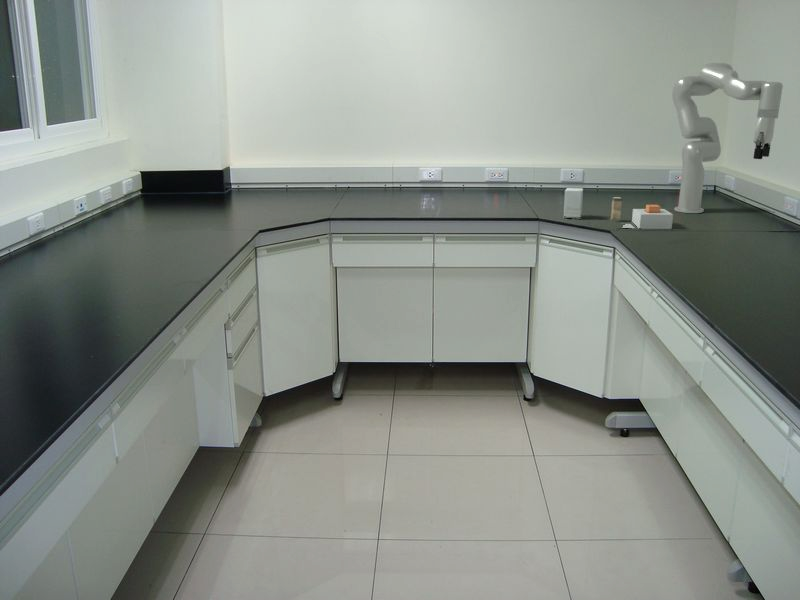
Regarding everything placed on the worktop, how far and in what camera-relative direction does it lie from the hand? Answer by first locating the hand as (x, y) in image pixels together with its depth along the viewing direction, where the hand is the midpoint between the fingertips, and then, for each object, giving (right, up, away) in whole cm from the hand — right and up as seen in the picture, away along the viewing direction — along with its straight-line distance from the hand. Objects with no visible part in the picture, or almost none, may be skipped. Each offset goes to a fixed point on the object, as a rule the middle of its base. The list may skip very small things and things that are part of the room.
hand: (761, 157), depth 297 cm
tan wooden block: (-53, -24, +19) cm, 62 cm away
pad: (-54, -28, +7) cm, 61 cm away
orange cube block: (-41, -23, +8) cm, 48 cm away
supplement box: (-70, -22, +26) cm, 78 cm away
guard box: (-41, -27, +9) cm, 50 cm away
